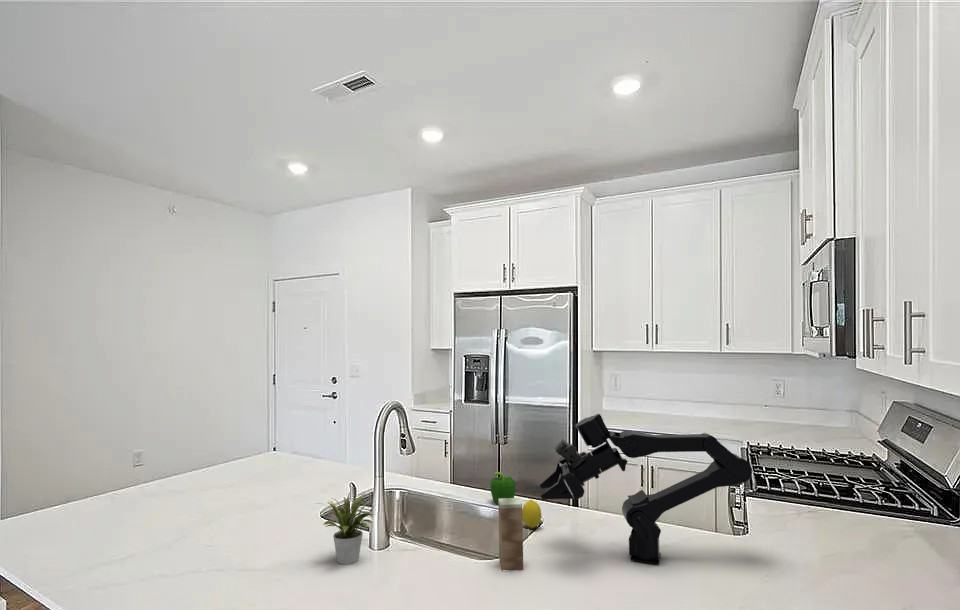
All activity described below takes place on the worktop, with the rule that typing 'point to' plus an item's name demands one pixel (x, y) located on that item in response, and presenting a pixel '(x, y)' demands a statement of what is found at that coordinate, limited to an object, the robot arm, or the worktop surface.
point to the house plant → (348, 530)
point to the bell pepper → (502, 487)
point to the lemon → (531, 514)
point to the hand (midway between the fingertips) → (541, 492)
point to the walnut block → (510, 534)
